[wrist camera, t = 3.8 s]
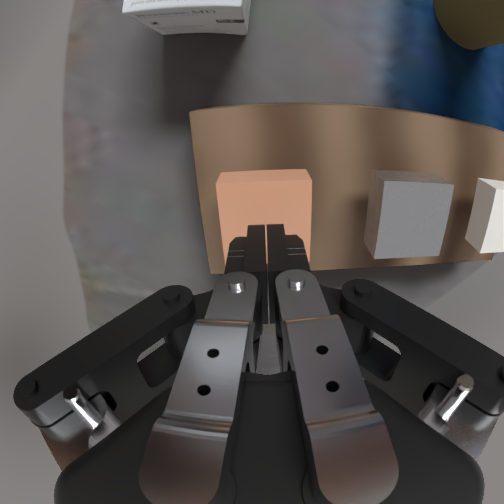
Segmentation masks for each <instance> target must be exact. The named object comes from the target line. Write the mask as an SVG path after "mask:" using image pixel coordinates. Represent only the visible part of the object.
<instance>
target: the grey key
mask: <svg viewBox="0 0 504 504" xmlns="http://www.w3.org/2000/svg"><path fill="white" fill-rule="evenodd" d="M453 189H454V184H452V183H451V182H449V181H448V180H446V179H444V178H443V177H441V176H440V175H438V174H436V173H424V172H409V171H391V170H371V174H370V187H369V198H368V208H367V217H366V226H365V234H364V243H365V245H366V246H367V248H368V250H369V252H370V253H371V255H372V257H373V258H374V259H386V258H406V257H425V256H439V253H440V249H441V246H442V242H443V238H444V233H445V229H446V225H447V220H448V216H449V211H450V206H451V200H452V195H453Z"/></svg>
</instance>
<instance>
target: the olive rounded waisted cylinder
mask: <svg viewBox="0 0 504 504" xmlns="http://www.w3.org/2000/svg"><path fill="white" fill-rule="evenodd" d="M434 10H435V14H436V17H437V19H438V21H439V23H440V25H441V27H442V28H443V30H444V31H445V32H446V34H447V35H448V36H449V37H450V38H451V39H452V40H453V41H454V42H455V43H456V44H458V45H460V46H461V47H463V48H465V49H470V50H476V49H480V48H484V47H488V46H492V45H497V44H501V43H504V0H434Z"/></svg>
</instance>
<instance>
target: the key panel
mask: <svg viewBox="0 0 504 504" xmlns="http://www.w3.org/2000/svg"><path fill="white" fill-rule="evenodd" d="M189 115H190V125H191V134H192V143H193V152H194V161H195V169H196V177H197V185H198V192H199V200H200V207H201V215H202V222H203V229H204V235H205V242H206V249H207V255H208V262H209V268H210V274H224V271H225V266H226V265H225V260H224V252H223V244H222V236H221V227H220V219H219V210H218V201H217V192H216V182H217V180H218V178H219V176H220V174H221V172H237V171H256V170H283V169H306V170H307V172H308V174H309V176H310V177H311V179H312V210H311V240H310V262H309V266H310V270H311V271H314V270H336V269H356V268H374V267H392V266H408V265H424V264H439V263H453V262H467V261H480V260H492V258H493V255H494V253H479V252H478V251H477V250H476V249H475V248H474V247H473V246H472V245H471V244H470V243H469V242H468V241H467V240H466V239H465V236H466V232H467V228H468V224H469V220H470V216H471V211H472V207H473V202H474V197H475V192H476V186H477V180H478V178H483V179H491V180H498V181H504V132H503V131H501V130H498V129H495V128H492V127H489V126H485V125H481V124H477V123H473V122H469V121H464V120H460V119H455V118H450V117H445V116H440V115H435V114H429V113H423V112H417V111H410V110H403V109H395V108H387V107H377V106H366V105H353V104H336V103H259V104H241V105H228V106H217V107H207V108H201V109H197V110H194V111H190V112H189ZM371 170H391V171H409V172H424V173H436V174H438V175H440V176H441V177H443V178H444V179H446V180H448V181H449V182H451V183H452V184H454V189H453V195H452V200H451V206H450V211H449V216H448V220H447V225H446V229H445V233H444V238H443V242H442V246H441V249H440V253H439V256H425V257H406V258H386V259H374V258H373V257H372V255H371V253H370V252H369V250H368V248H367V246H366V245H365V243H364V234H365V226H366V217H367V208H368V198H369V187H370V174H371ZM267 272H268V264H267Z"/></svg>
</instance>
